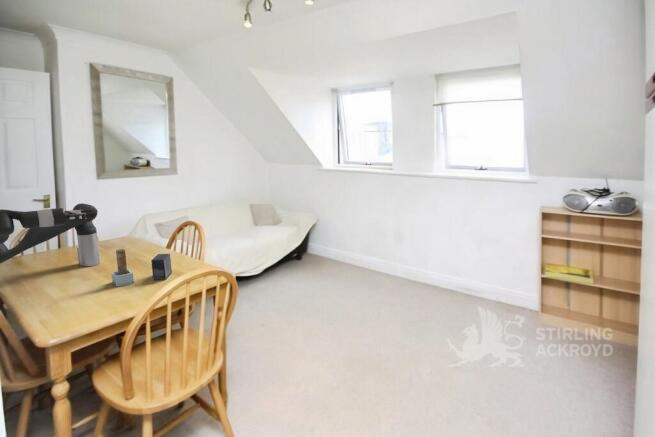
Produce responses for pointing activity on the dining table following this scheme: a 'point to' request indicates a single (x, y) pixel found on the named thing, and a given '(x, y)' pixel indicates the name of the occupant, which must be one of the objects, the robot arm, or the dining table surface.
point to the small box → (161, 266)
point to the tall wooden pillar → (121, 261)
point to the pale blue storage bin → (122, 278)
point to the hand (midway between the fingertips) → (93, 213)
